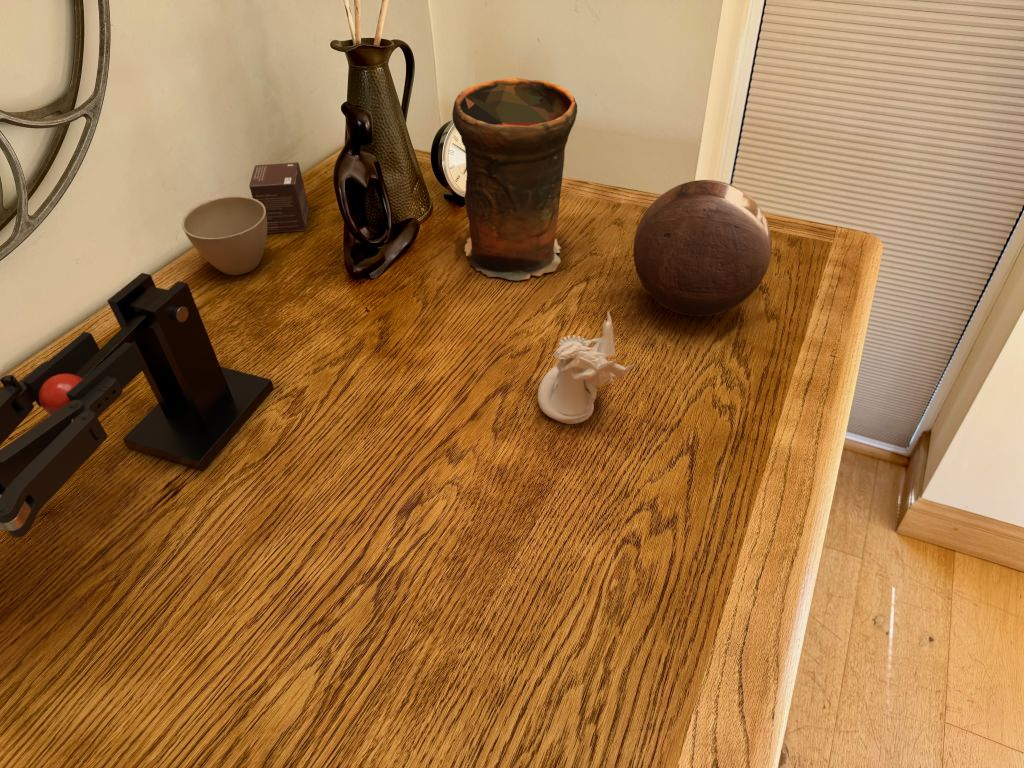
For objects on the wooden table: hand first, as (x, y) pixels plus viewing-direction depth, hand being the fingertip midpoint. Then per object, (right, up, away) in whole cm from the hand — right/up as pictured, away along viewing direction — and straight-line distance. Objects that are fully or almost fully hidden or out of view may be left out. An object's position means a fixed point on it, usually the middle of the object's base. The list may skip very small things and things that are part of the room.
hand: (114, 350), depth 61 cm
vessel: (+34, +15, +34) cm, 51 cm away
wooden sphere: (+55, +7, +26) cm, 61 cm away
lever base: (+2, -6, +13) cm, 14 cm away
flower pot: (-2, +13, +33) cm, 35 cm away
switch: (0, -1, +1) cm, 2 cm away
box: (+2, +20, +41) cm, 45 cm away
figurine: (+41, -6, +12) cm, 43 cm away
